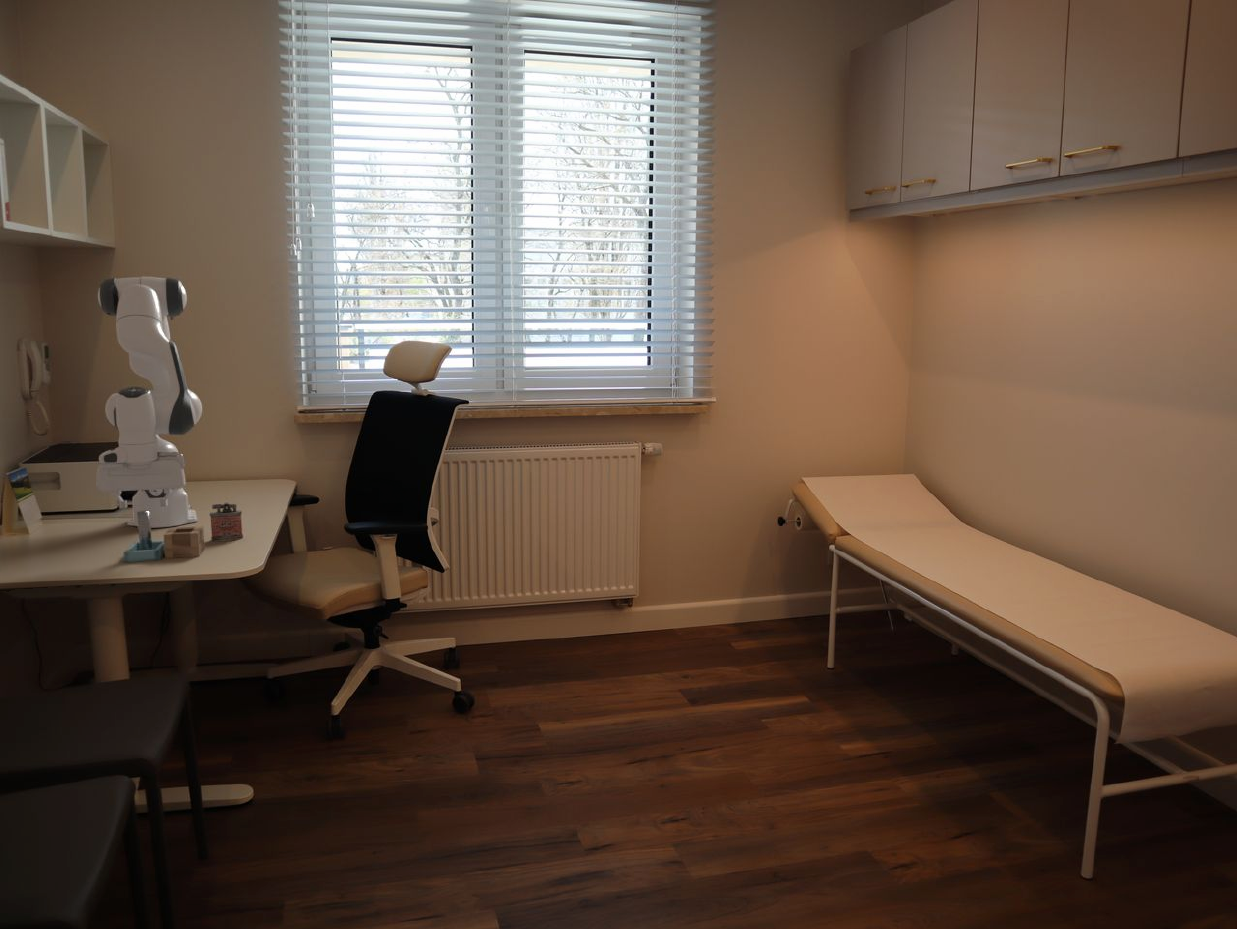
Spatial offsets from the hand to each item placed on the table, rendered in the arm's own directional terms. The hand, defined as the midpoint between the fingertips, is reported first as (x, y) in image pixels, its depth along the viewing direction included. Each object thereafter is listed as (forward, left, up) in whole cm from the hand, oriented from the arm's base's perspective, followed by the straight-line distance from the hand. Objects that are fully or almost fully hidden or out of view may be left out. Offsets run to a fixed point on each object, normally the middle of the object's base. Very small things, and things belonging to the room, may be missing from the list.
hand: (143, 507), depth 250 cm
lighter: (-15, +17, -13) cm, 26 cm away
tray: (+1, 0, -13) cm, 13 cm away
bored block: (0, +9, -13) cm, 15 cm away
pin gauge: (+1, 0, -12) cm, 12 cm away
